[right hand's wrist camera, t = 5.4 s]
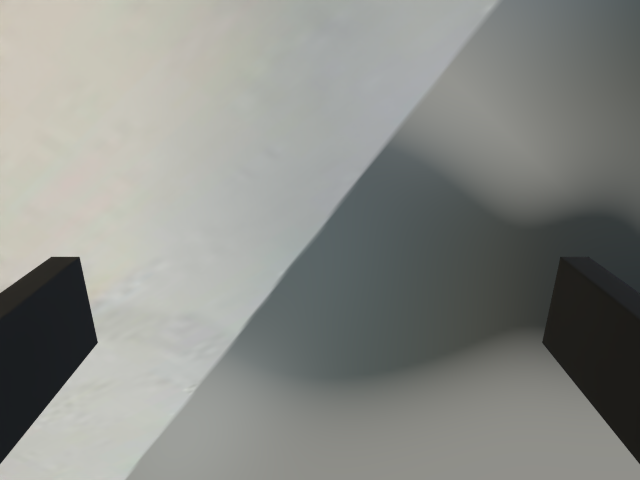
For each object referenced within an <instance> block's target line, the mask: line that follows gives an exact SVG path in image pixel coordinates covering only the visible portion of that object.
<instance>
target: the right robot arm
mask: <svg viewBox="0 0 640 480" xmlns="http://www.w3.org/2000/svg"><path fill="white" fill-rule="evenodd" d="M97 343H98V342H97V337H96V332H95V328H94V323H93V318H92V314H91V309H90V304H89V299H88V295H87V290H86V285H85V281H84V276H83V271H82V267H81V262H80V257H51V258H49V259H48V260H46V261H45V262H44V263H42V264H41V265H39V266H38V267H37V268H35V269H34V270H32V271H31V272H29V273H28V274H27V275H25V276H24V277H22V278H21V279H20V280H18V281H17V282H15V283H14V284H13V285H11V286H10V287H8V288H7V289H6V290H4V291H3V292H1V293H0V464H1V462H2V461H3V460H4V459H5V457H6V456H7V455H8V454H9V452H10V451H11V450H12V449H13V447H14V446H15V445H16V444H17V442H18V441H19V440H20V439H21V438H22V436H23V435H24V434H25V433H26V431H27V430H28V429H29V428H30V426H31V425H32V424H33V423H34V421H35V420H36V419H37V418H38V416H39V415H40V414H41V413H42V411H43V410H44V409H45V408H46V406H47V405H48V404H49V403H50V401H51V400H52V399H53V398H54V396H55V395H56V394H57V393H58V391H59V390H60V389H61V388H62V386H63V385H64V384H65V383H66V382H67V380H68V379H69V378H70V377H71V375H72V374H73V373H74V372H75V370H76V369H77V368H78V367H79V365H80V364H81V363H82V362H83V360H84V359H85V358H86V357H87V355H88V354H89V353H90V352H91V350H92V349H93V348H94V347H95V345H96V344H97ZM542 343H543V344H544V345H545V347H546V348H547V349H548V350H549V352H550V353H551V354H552V355H553V357H554V358H555V359H556V360H557V362H558V363H559V364H560V365H561V367H562V368H563V369H564V370H565V372H566V373H567V374H568V375H569V377H570V378H571V379H572V380H573V382H574V383H575V384H576V385H577V386H578V388H579V389H580V390H581V391H582V393H583V394H584V395H585V396H586V398H587V399H588V400H589V401H590V403H591V404H592V405H593V406H594V408H595V409H596V410H597V411H598V413H599V414H600V415H601V416H602V418H603V419H604V420H605V421H606V423H607V424H608V425H609V426H610V428H611V429H612V430H613V431H614V433H615V434H616V435H617V436H618V438H619V439H620V440H621V441H622V442H623V444H624V445H625V446H626V447H627V449H628V450H629V451H630V452H631V454H632V455H633V456H634V457H635V459H636V460H637V461H638V462H639V464H640V293H639V292H637V291H636V290H634V289H633V288H632V287H630V286H629V285H627V284H626V283H625V282H623V281H622V280H620V279H619V278H618V277H616V276H615V275H613V274H612V273H611V272H609V271H608V270H606V269H605V268H603V267H602V266H601V265H599V264H598V263H596V262H595V261H594V260H592V259H591V258H589V257H560V262H559V267H558V271H557V276H556V281H555V285H554V290H553V295H552V299H551V304H550V309H549V314H548V318H547V323H546V328H545V332H544V337H543V342H542Z"/></svg>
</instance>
